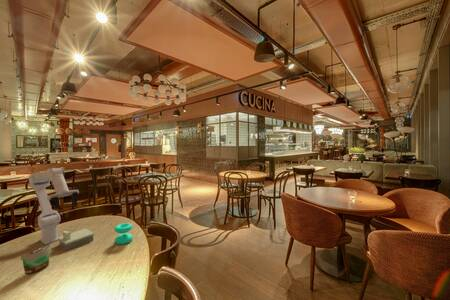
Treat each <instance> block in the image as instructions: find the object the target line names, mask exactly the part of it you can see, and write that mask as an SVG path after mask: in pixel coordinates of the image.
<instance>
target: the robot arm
mask: <svg viewBox="0 0 450 300" xmlns="http://www.w3.org/2000/svg"><path fill="white" fill-rule="evenodd" d="M50 182H51V183H52V185H53V188H54V191H55V193H54V194H50V195H48V193H47V189H46V188H47V187H49V186H50ZM28 183H29V186H30V189H33V190H34V191H35V193H36V197H37V201H38V203H39V204H38V205H39V207H40V210H41V212H40V214H39V215H38V216H37V225H38V227H39V229H40V232H41V233H40V235H41V238H40V239H39V241H40V242H41V243H42V244H43V245H47V243H49V244H50V243H52V242H55V241H59V240H58V237H59V236H58V235H59V234H58V225H59V224H60V222H61V215H60V213H59V212H60V211H61V210H62V206H61V204H60V202H59V198H64V197H69V196H71V197H70V199H71V201H72V203H73V206H74V207H77V206H78V195H79V194H80V191H79V189H71V190H70V189H69V187H68V184H67V182H66V179H65V170H64V168H63V167H58V168H56V167H51V168H50V167H48V169H45V170H44V171H38V172H37V171H36V172H33V173H30V174H29V175H28ZM51 205H53V206H54V207H55V208H56V209H57V210H55V209H53V208H52V206H51ZM58 211H59V212H58Z"/></svg>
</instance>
